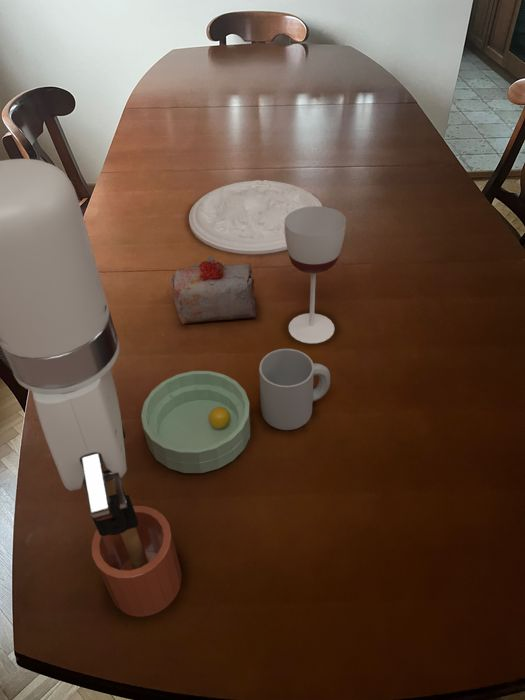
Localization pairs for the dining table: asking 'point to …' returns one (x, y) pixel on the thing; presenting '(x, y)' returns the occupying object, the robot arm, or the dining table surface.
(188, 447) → the bowl
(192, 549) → the dining table surface
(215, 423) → the ball
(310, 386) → the cup
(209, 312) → the food item
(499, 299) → the dining table surface
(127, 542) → the stirring stick
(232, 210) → the ceiling medallion
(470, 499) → the dining table surface
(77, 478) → the robot arm
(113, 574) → the utensil pot
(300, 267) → the wineglass
